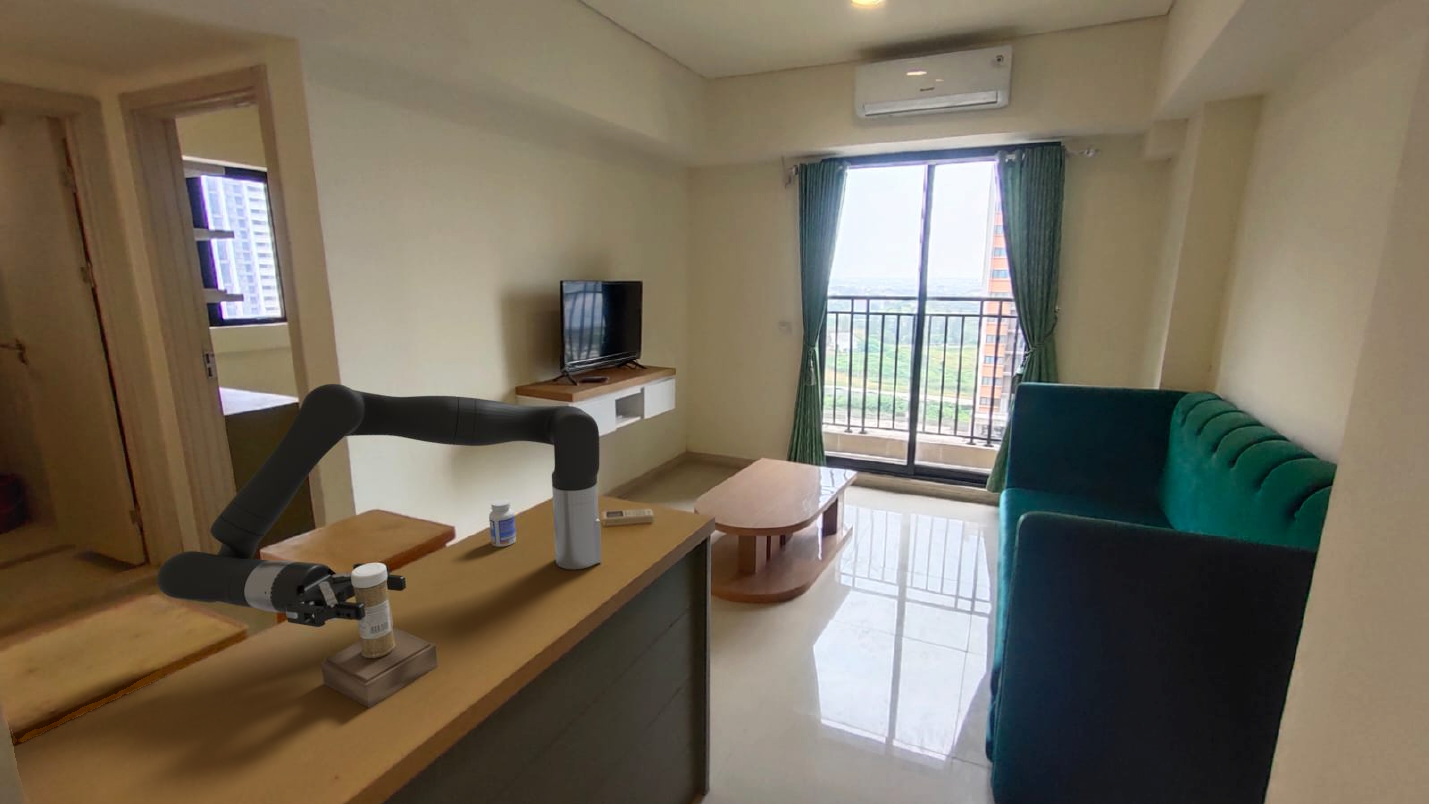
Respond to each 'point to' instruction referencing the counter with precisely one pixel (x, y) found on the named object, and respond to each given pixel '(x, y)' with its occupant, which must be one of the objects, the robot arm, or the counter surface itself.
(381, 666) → the walnut plinth
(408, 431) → the robot arm
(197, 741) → the counter surface
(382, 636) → the sprinkles bottle
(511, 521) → the pill bottle
